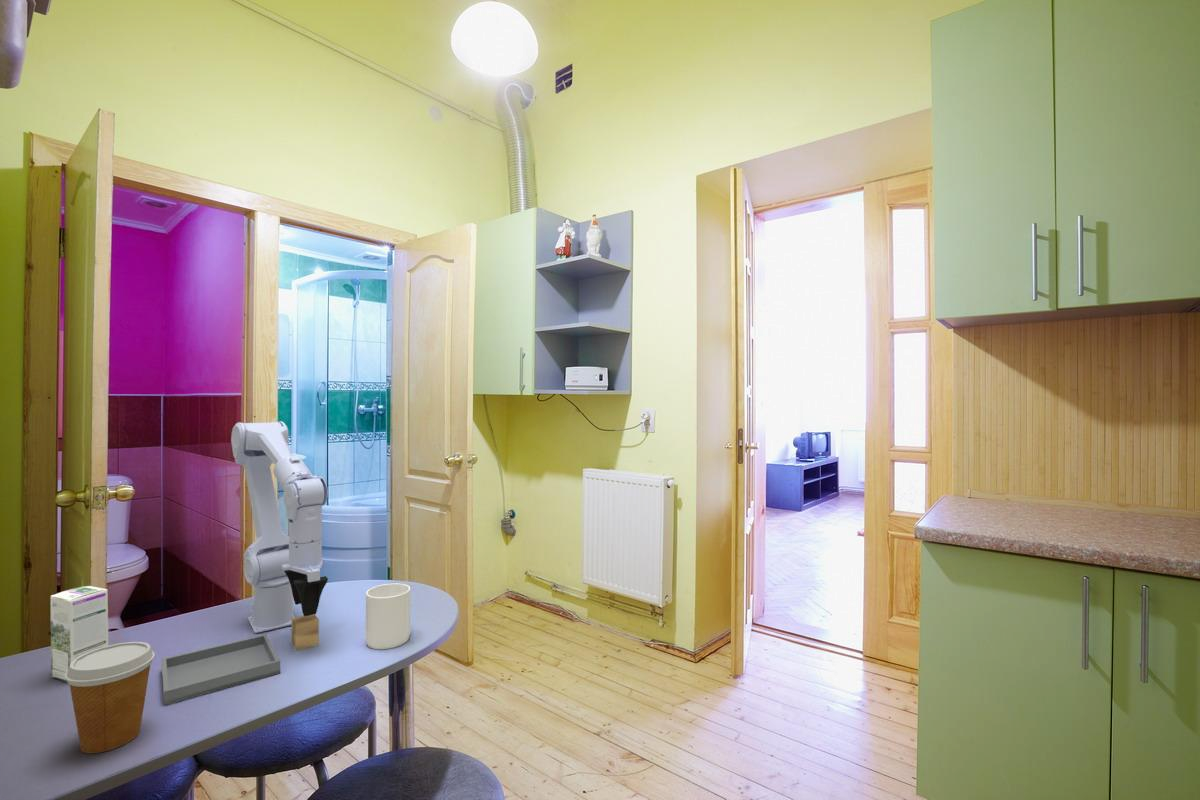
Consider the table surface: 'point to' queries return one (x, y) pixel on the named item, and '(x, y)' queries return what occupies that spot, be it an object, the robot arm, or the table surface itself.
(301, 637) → the block
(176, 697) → the tray
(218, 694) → the table surface
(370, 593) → the cup
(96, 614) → the syrup box
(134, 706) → the disposable coffee cup
